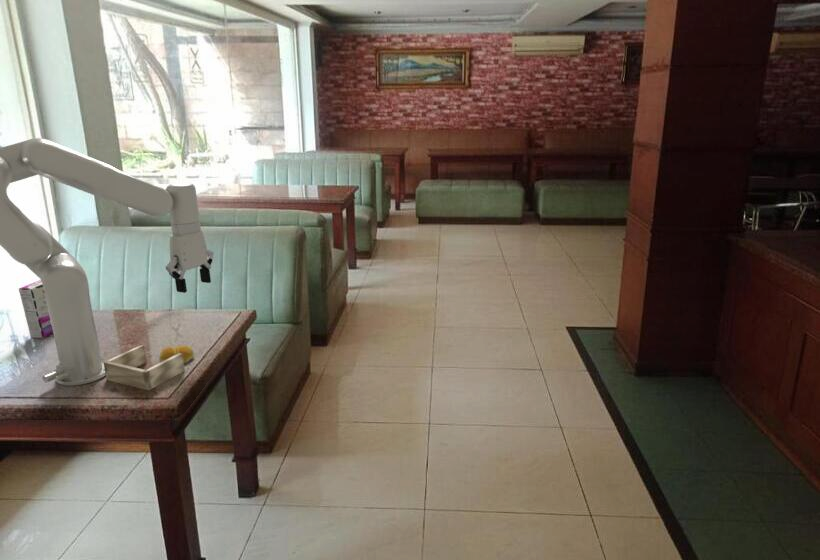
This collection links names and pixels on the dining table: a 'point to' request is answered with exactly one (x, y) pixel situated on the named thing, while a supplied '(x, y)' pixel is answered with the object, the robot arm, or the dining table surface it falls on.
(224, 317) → the dining table surface
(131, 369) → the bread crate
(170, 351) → the bread roll
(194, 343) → the dining table surface
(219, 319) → the dining table surface
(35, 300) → the candy bar box
